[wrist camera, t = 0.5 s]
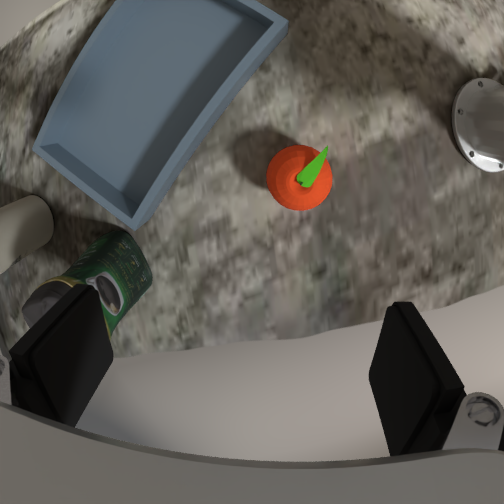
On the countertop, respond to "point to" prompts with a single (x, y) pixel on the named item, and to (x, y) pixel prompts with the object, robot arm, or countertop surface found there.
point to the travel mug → (23, 229)
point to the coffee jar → (99, 279)
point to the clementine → (299, 177)
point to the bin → (151, 95)
